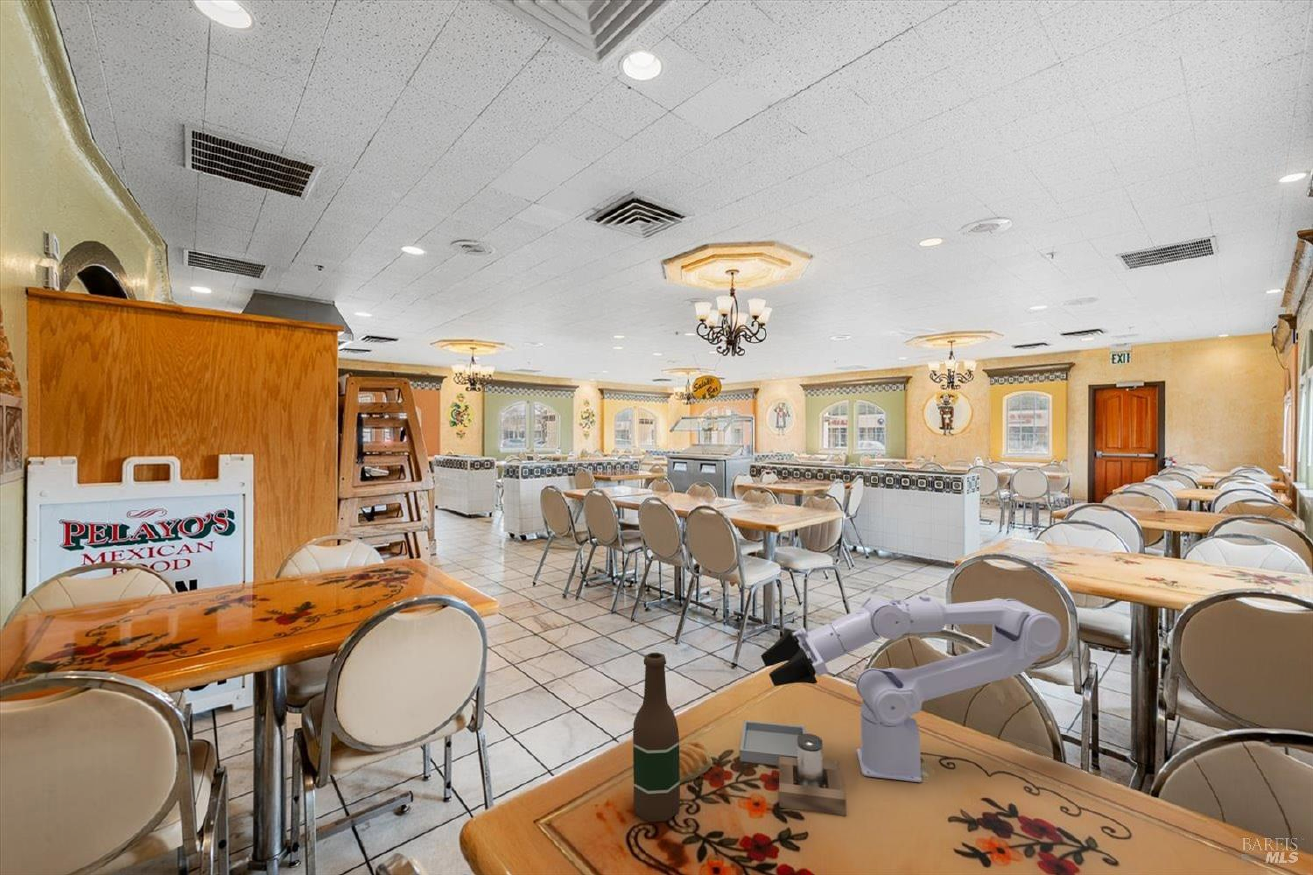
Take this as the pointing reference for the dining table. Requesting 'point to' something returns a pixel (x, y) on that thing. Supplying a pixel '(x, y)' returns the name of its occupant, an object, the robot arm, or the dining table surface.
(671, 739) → the beer bottle
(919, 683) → the robot arm
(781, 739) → the tray
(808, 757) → the steel pin
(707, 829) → the dining table surface
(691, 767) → the pastry
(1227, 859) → the dining table surface
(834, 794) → the eye block
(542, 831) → the dining table surface
